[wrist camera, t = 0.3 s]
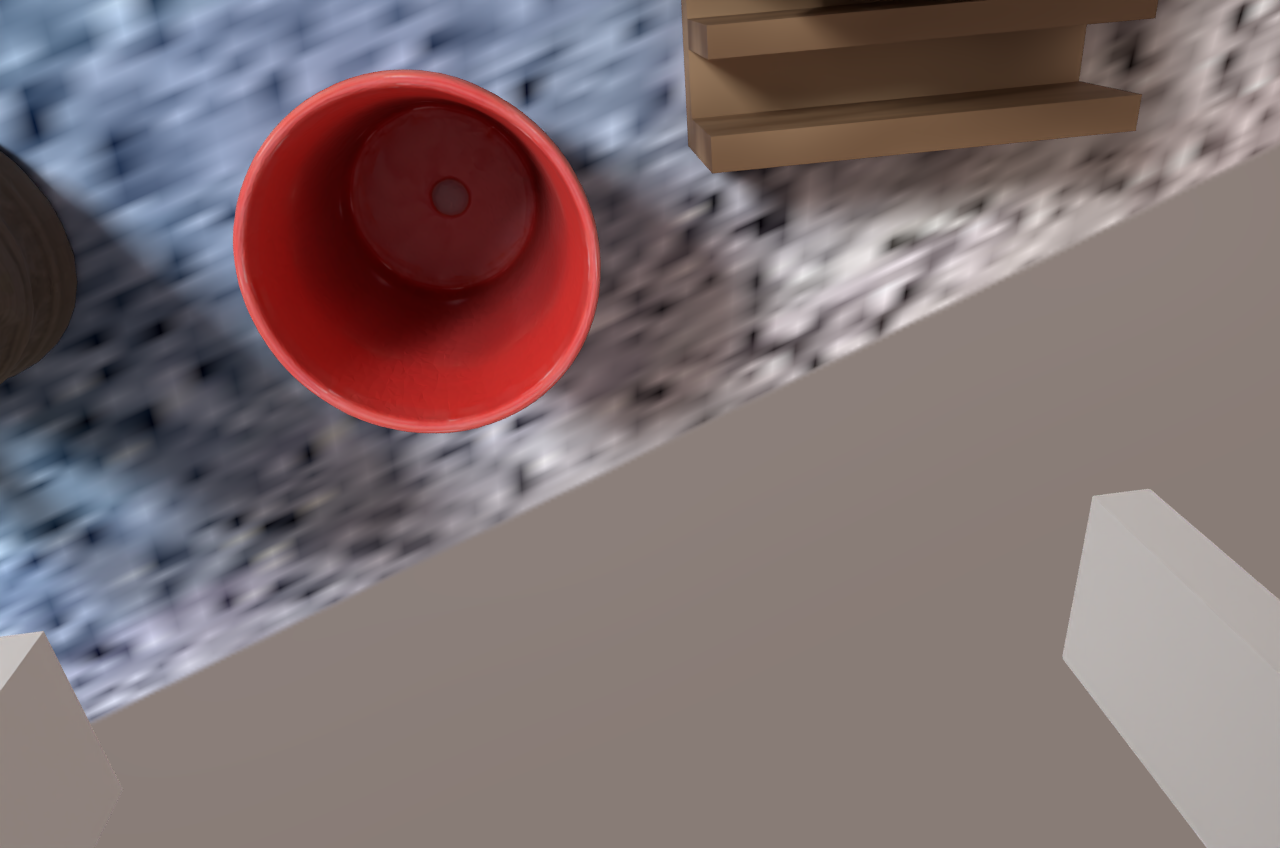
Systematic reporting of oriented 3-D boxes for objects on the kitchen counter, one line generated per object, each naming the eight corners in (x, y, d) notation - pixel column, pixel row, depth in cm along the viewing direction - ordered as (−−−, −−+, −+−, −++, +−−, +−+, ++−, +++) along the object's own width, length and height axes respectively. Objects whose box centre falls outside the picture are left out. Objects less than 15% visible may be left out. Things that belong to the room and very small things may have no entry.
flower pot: (603, 70, 33) (629, 106, 25) (565, 341, 38) (576, 451, 30) (307, 19, 32) (224, 39, 23) (306, 311, 36) (236, 418, 28)
